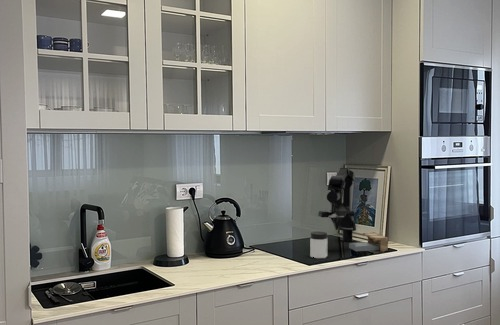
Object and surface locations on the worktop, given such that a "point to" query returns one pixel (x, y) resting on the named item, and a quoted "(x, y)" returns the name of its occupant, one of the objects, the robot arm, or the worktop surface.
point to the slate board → (364, 246)
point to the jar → (318, 245)
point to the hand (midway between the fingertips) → (336, 229)
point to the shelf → (378, 240)
